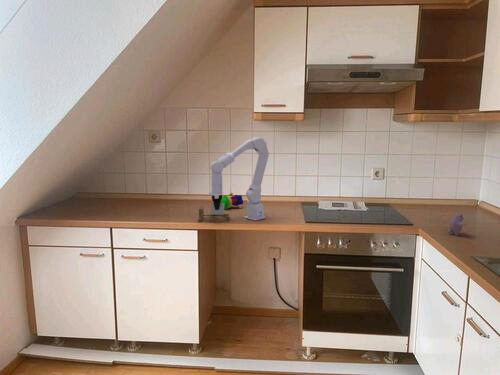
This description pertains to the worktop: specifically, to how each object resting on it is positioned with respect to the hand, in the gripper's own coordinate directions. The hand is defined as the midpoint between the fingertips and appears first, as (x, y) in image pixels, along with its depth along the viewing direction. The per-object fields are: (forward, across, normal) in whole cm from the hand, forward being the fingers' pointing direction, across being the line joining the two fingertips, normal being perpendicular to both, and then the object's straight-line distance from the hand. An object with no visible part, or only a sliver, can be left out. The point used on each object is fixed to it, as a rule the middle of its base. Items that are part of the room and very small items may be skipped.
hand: (217, 209), depth 199 cm
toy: (+6, -28, +8) cm, 29 cm away
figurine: (+6, +33, +112) cm, 117 cm away
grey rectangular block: (+3, 0, 0) cm, 3 cm away
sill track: (+6, 0, -2) cm, 6 cm away
